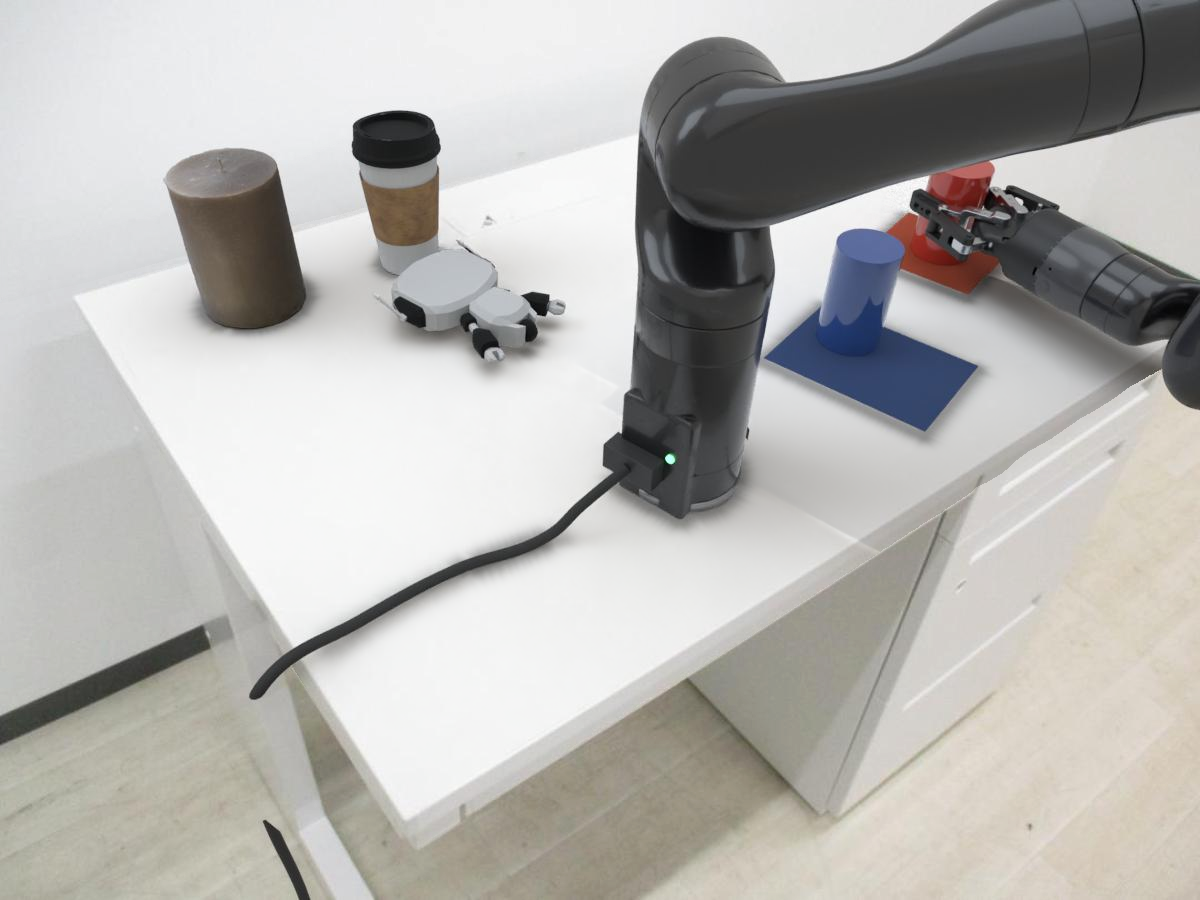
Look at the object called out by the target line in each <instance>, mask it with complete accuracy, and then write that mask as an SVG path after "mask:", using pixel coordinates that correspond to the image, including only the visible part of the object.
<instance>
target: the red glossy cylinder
mask: <svg viewBox="0 0 1200 900" xmlns="http://www.w3.org/2000/svg"><path fill="white" fill-rule="evenodd" d="M995 173H996V167H995V165H994V164H993V163H992V162H991V161H987V162H983V163H979V164H975V165H971V166H967V167H963V168H959V169H955V170H950V171H947V172H943V173H938V174H934V175H929V176H928V177H929V178H928V181H927V184H926V187H925V191H926V192H928V193H930V194H932V195H933V196H935V197H936V198H938V199H940V200H942V201H944V202H945V204H949V205H952V206H956V207H959V208H965V207H966V206H973V207H976V208H980V209H983V207H984V206H983V205H984V202H985V199H986V196H987V193H988V190H989V187H991V184H992V181H993V178H994V175H995ZM917 216H918V219H917V222H916V226H915V229H914V233H913V236H912V240H911V243H910V249H911V251H912V252H913V254H914V255H916V256H917V257H918V258H920V259H922V260H924V261H926V262H929V263H933V264H938V265H955V264H958V263H961V262H962V261H959V260H957V259H956V258H955V257H953V256H952V255H951V254H949V253H948V252H947V251H945V250H944V249H943V248H941V247H940V246H939V245H937V244H936V243H935V242H934V241H932V240H931V239H930V238H928V237H927V236H926V235H925V231H926V229H927V225H928V222H929V220H928V219H926V218H924V217H923V216H921V215H920V214H917ZM948 217H949V218H951V219H952V220H953V221H955V222H956V223H958V222H959V219H958V218H957V217H955V216H951V215H949V216H948ZM974 219H975V218H973V217H970V218H969V220H968V224H967V227H966V229H970V230H971V227H972V224H973V221H974ZM939 232H941V231H939ZM941 233H942V232H941Z"/></svg>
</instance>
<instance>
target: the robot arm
mask: <svg viewBox="0 0 1200 900" xmlns="http://www.w3.org/2000/svg"><path fill="white" fill-rule="evenodd" d="M779 71H780V70H778V69H777V67H776V66H775V64H774V63H773V62H772V61H771V60H770V59H769V57H768V56H767V55H766V54H765V53H764V52H763V51H761V50H760V49H759V48H757V47H756V46H754V45H753V44H750V43H748V42H747V41H744V40H742V39H739V38H735V37H731V36H730V37H729V36H710V37H705V38H701V39H697V40H694V41H692V42H689V43H688V44H686V45H683V46H682V47H681V48H679V49H677V50H676V51H675V52H673V54H671V55H670V56H669V57H668V58H667V59H666V60H665V61H664V62H663V63H662V65H660V67H659V68H658V70H657V71H656V72H655V74H654V75H653V77H652V79H651V80H650V83H649V84H648V87H647V90H646V92H645V95H644V98H643V101H642V102H643V103H642V105H641V110H640V118H639V125H638V140H637V157H636V159H637V161H636V181H635V182H636V186H635V210H634V211H635V212H634V239H635V249H636V259H637V282H636V283H637V285H636V300H635V315H634V316H635V317H634V325H633V327H634V328H633V341H632V357H631V372H630V385H629V386H630V387H629V389H628V391H626V392H625V393H624V395H623V405H622V421H621V422H622V423H621V432H619V431H617V432H616V433H615V434H614V435H612V436H611V437H610V438H609V439H607V440H606V441H605V442H604V443H603V447H602V448H603V449H602V467H604V468H606V469H607V470H609V471H610V472H612V473H610V474H609V475H608V476H606V477H605V478H604V479H603V480H602V481H600V482H599V483H597V485H596V486H594V487H593V488H592V489H590V490H589V491H588V492H587V493H586V494H584V496H582V497H581V498H580V499H578V500H577V501H576V503H574V504H573V505H572V506H571V507H570V508H569V509H567V511H566V512H565V513H564V514H563V516H561V517H560V518H559V520H557V522H556V523H554V524H553V525H552V526H550V527H549V528H548V529H546V530H544V531H543V532H541V533H539V534H538V535H535V536H533V537H532V538H529V539H526V540H524V541H521V542H519V543H516V544H513V545H510V546H507V547H503V548H500V549H497V550H492V551H489V552H485V553H482V554H479V555H475V556H473V557H469V558H467V559H463V560H461V561H459V562H456V563H454V564H452V565H450V566H447V567H444V568H443V569H440V570H439V571H436V572H434V573H431V574H430V575H427V576H426V577H424V578H421V579H420V580H418V581H416V582H413V583H412V584H410V585H409V586H406V587H405V588H403V589H400V590H399V591H398V592H396V593H394V594H392V595H390V596H388V597H387V598H384V599H383V600H381V601H380V602H378V603H376V604H375V605H373V606H371V607H369V608H367V609H366V610H364V611H362V612H361V613H359V614H357V615H356V616H354V617H352V618H349V619H347V620H346V621H344V622H342V623H339V624H338V625H336V626H334V627H332V628H330V629H328V630H326V631H323V632H321V633H320V634H317V635H315V636H313V637H311V638H309V639H307V640H305V641H303V642H302V643H300V644H298V645H297V646H295V647H292V649H290V650H289V651H287V652H285V653H284V654H283V655H282V656H280V657H279V658H278V659H277V660H276V661H274V662H273V663H272V664H271V665H270V666H269V667H268V668H267V669H266V670H265V671H264V673H262V674H261V676H260V677H259V678H258V680H257V681H256V682H255V684H254V685H253V686H252V688H251V690H250V691H249V695H248V698H249V699H250V700H251V701H257V700H259V699H261V698H263V697H264V695H265V694H266V693H267V691H268V690H269V689H270V687H271V686H272V685H273V684H274V682H275V681H276V680H277V679H278V678H279V677H280V676H281V675H282V674H283V673H284V672H285V671H287V670H288V669H289V668H290V667H291V666H293V665H294V664H296V663H297V662H298V661H300V660H302V659H303V658H305V657H306V656H308V655H310V654H312V653H314V652H316V651H317V650H319V649H321V648H324V647H326V646H327V645H330V644H332V643H334V642H336V641H338V640H340V639H342V638H344V637H347V636H348V635H350V634H352V633H354V632H356V631H358V630H359V629H361V628H362V627H364V626H366V625H368V624H370V623H371V622H373V621H375V620H376V619H378V618H380V617H381V616H383V615H386V613H389V612H390V611H392V610H393V609H396V608H398V607H399V606H401V605H402V604H404V603H406V602H408V601H410V600H411V599H413V598H415V597H418V595H419V596H420V595H421V594H423V593H424V592H426V591H428V590H430V589H432V588H435V587H436V586H438V585H441V584H443V583H445V582H447V581H450V580H452V579H453V578H455V577H457V576H460V575H463V574H465V573H467V572H470V571H473V570H476V569H479V568H481V567H485V566H488V565H491V564H495V563H500V562H502V561H506V560H510V559H513V558H516V557H519V556H522V555H524V554H527V553H530V552H533V551H535V550H537V549H538V548H541V547H543V546H544V545H546V544H548V543H550V542H551V541H553V540H555V539H556V538H558V537H559V536H560V535H561V534H563V533H564V532H565V531H566V530H567V529H568V528H569V527H570V526H571V525H572V524H573V523H574V521H576V520H577V518H578V517H579V516H581V515H582V513H583V512H585V511H586V510H587V509H588V508H589V507H590V506H592V505H593V504H594V503H595V502H596V501H598V500H599V499H600V498H601V497H603V496H604V495H605V494H606V493H608V492H609V491H610V490H611V489H613V488H614V487H615V486H616V485H617V484H618V485H619V486H620V487H622V488H624V489H625V490H627V491H629V492H631V493H632V494H634V495H636V496H637V497H639V498H641V499H642V500H644V501H645V502H647V503H648V504H651V505H653V506H655V507H657V508H658V509H660V510H662V511H664V512H666V513H667V514H669V515H671V516H672V517H674V518H676V519H679V520H682V519H684V518H685V517H686V516H687V515H688V514H690V513H694V512H695V513H696V512H703V511H706V510H710V509H713V508H716V507H717V506H720V505H721V504H723V503H725V502H726V501H727V500H729V499H730V498H731V497H732V496H733V494H735V492H736V490H737V489H738V486H739V483H740V479H741V473H742V466H741V465H742V460H743V454H744V449H745V443H746V441H748V440H749V435H750V428H749V422H750V416H751V410H752V405H753V399H754V394H755V389H756V383H757V379H758V373H759V367H760V361H761V355H762V349H763V344H764V339H765V334H766V329H767V324H768V318H769V312H770V306H771V301H772V296H773V291H774V284H775V278H776V263H775V255H774V249H773V243H772V235H771V226H774V225H777V224H781V223H784V222H787V221H791V220H793V219H796V218H799V217H802V216H804V215H805V216H806V215H808V214H810V213H813V212H817V211H819V210H823V209H825V208H828V207H831V206H834V205H837V204H839V203H843V202H846V201H848V200H851V199H854V198H856V197H860V196H863V195H866V194H869V193H872V192H875V191H879V190H882V189H885V188H887V187H892V186H895V185H898V184H901V183H905V182H909V181H912V180H917V179H920V178H926V177H930V175H934V174H938V173H943V172H947V171H950V170H955V169H959V168H963V167H967V166H971V165H975V164H979V163H983V162H987V161H990V162H991V161H994V160H999V159H1003V158H1007V157H1011V156H1016V155H1021V154H1026V153H1032V152H1037V151H1042V150H1049V149H1053V148H1058V147H1062V146H1067V145H1070V144H1076V143H1079V142H1084V141H1088V140H1093V139H1097V138H1101V137H1105V136H1111V135H1114V134H1117V133H1121V132H1125V131H1128V130H1132V129H1136V128H1139V127H1143V126H1148V125H1151V124H1156V123H1159V122H1164V121H1165V122H1166V121H1169V120H1173V119H1179V118H1183V117H1189V116H1193V115H1199V114H1200V0H996V1H994V2H992V3H991V4H988V5H986V6H985V7H984V8H982V9H980V10H979V11H977V12H975V13H974V14H972V15H971V16H969V17H968V18H966V19H965V20H963V21H962V22H961V23H959V24H958V25H956V26H955V27H954V28H952V29H950V30H948V32H946V33H945V34H943V35H942V36H940V37H939V38H937V39H936V40H935V41H933V42H931V43H930V44H929V45H927V46H926V47H923V49H920V50H918V51H916V52H915V53H913V54H910V55H909V56H907V57H905V58H902V59H899V60H896V61H894V62H891V63H888V64H885V65H881V66H878V67H874V68H869V69H865V70H861V71H859V70H858V71H855V72H851V73H845V74H840V75H836V76H830V77H825V78H824V77H823V78H816V79H810V80H801V81H791V82H790V81H786V80H785V78H784V77H783V76H782V74H781V73H780V72H779ZM1017 199H1019V200H1021V202H1022V205H1021V203H1020V202H1019V201H1018V200H1017ZM1060 208H1061V206H1060V205H1059V204H1057V203H1055V202H1052V201H1050V200H1048V199H1046V198H1044V197H1041V196H1040V195H1039V196H1038V195H1037V194H1034V193H1032V192H1029V191H1027V190H1026V189H1023V188H1021V187H1018V186H1015V185H1011V184H1009V185H1006V187H1005V189H1002V188H1001V187H999V186H990V187H989V190H988V193H987V196H986V199H985V202H984V205H983V208H982V209H980V208H976V207H973V206H966V207H965V208H959V207H956V206H952V205H949V204H945V202H944V201H942V200H940V199H938V198H936V197H935V196H933V195H932V194H930V193H928V192H926V189H923V188H917V189H914V190H912V193H911V197H910V201H909V209H910V210H911V211H912V212H914V213H916V215H919V214H920V215H921V216H923V217H924V218H926V219H928V220H929V222H928V225H927V229H926V231H925V235H926V236H927V237H928V238H930V239H931V240H932V241H934V242H935V243H936V244H937V245H939V246H940V247H941V248H943V249H944V250H945V251H947V252H948V253H949V254H951V255H952V256H953V257H955V258H956V259H957V260H959V261H967V260H968V257H969V254H970V253H972V252H976V251H980V252H982V253H984V254H987V255H990V256H993V257H996V258H998V260H999V264H1000V267H1001V271H1002V274H1003V275H1004V276H1005V277H1006V278H1007V279H1008V280H1010V281H1011V282H1014V283H1015V284H1017V285H1019V286H1020V287H1022V288H1023V289H1025V290H1026V291H1029V292H1030V293H1032V294H1033V295H1035V296H1037V297H1038V298H1040V299H1042V300H1043V301H1045V302H1047V303H1048V304H1050V305H1052V306H1053V307H1055V308H1057V309H1059V311H1062V312H1065V313H1067V314H1068V315H1071V316H1074V317H1076V318H1078V319H1080V320H1082V321H1084V322H1086V323H1087V324H1089V325H1091V326H1092V327H1094V328H1096V329H1097V330H1099V331H1101V332H1102V333H1104V334H1106V335H1107V336H1109V337H1110V338H1112V339H1114V340H1115V341H1118V342H1119V343H1121V344H1123V345H1125V346H1131V347H1141V346H1144V345H1145V346H1146V345H1149V344H1151V343H1155V342H1158V341H1167V344H1166V346H1165V348H1164V351H1163V355H1162V360H1161V375H1162V380H1163V382H1164V385H1165V387H1166V389H1167V390H1168V392H1169V393H1170V396H1172V397H1173V398H1174V399H1175V400H1176V401H1177V402H1178V403H1180V404H1181V405H1183V406H1184V407H1187V408H1190V409H1193V410H1195V411H1196V410H1197V411H1200V281H1199V280H1195V279H1191V278H1185V277H1181V276H1177V275H1173V274H1170V273H1168V272H1167V271H1165V270H1164V269H1162V268H1160V267H1158V266H1156V265H1155V264H1154V263H1151V262H1149V261H1147V260H1146V259H1143V258H1141V257H1140V256H1138V255H1136V254H1134V253H1132V252H1131V251H1129V250H1127V249H1126V248H1125V247H1123V246H1122V245H1120V244H1119V243H1118V242H1117V241H1115V240H1113V239H1112V238H1110V237H1108V236H1106V235H1104V233H1103V234H1102V233H1100V232H1098V231H1097V230H1094V229H1093V228H1091V227H1089V226H1087V225H1085V224H1084V223H1082V222H1080V221H1078V220H1076V219H1074V218H1072V217H1071V216H1068V215H1067V214H1064V213H1063V212H1061V211H1059V210H1060ZM949 215H951V216H955V217H957V218H958V219H959V222H958V223H956V222H955V221H953V220H952V219H951V218H949V217H948V216H949ZM970 217H973V218H975V219H974V221H973V224H972V227H971V230H970V229H966V227H967V224H968V220H969V218H970ZM939 231H941V232H942V233H941V232H939ZM262 823H263V826H264V829H265V831H266V833H267V835H268V837H269V839H270V841H271V844H272V845H273V848H274V850H275V852H276V854H277V856H278V858H279V859H280V861H281V863H282V865H283V867H284V869H285V871H286V873H287V876H288V877H289V880H290V882H291V884H292V886H293V888H294V891H295V893H296V895H297V899H298V900H311V896H310V894H309V891H308V888H307V886H306V884H305V881H304V879H303V877H302V876H303V875H302V874H301V872H300V869H299V867H298V865H297V863H296V861H295V859H294V857H293V855H292V853H291V851H290V849H289V847H288V845H287V843H286V840H285V838H284V837H283V834H282V832H281V830H279V829H278V828H276V827H275V826H274V825H273V824H272V823H271V822H269V821H268V820H267V819H263V820H262Z"/></svg>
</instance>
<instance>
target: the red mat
mask: <svg viewBox="0 0 1200 900" xmlns="http://www.w3.org/2000/svg"><path fill="white" fill-rule="evenodd" d="M917 219H918V214H914V213H911V212H907V213H906V214H905V215H904V216H903V217H902V218H900V219H899V220H898V221H897V222H895V224H894V225H893V226H891V227H890V228H889V229H888V230H886V232H885V233H888V234H890V235H892V236H894V237H895V238H897V239H898V240H899V241H900V242H901V243H902V244H903V245H904V248H905V254H904V258H903V261H902V265H901V268H900V270H902V271H905V272H908V273H910V274H912V275H916V276H918V277H920V278H924V279H927V280H929V281H932V282H934V283H936V284H939V285H942V286H944V287H947V288H950V289H952V290H956V291H957V292H960V293H963V294H965V295H969V294H970V293H971V292H972V291H973V289H974V288H976V286H977V285H978V284H979V283H980V281H981V280H982V279H983V278H984V277H985V276H986V275H987V276H988V275H989V274H990V273H991V272H992V271H993V270H994V269H995V268H996V267H997V266H998V265H999V264H1000V262H999V260H998V258H996V257H993V256H990V255H987V254H984V253H982V252H980V251H976V252H972V253H970V254H969V257H968V260H967V261H962V262H961V263H958V264H955V265H938V264H933V263H929V262H926V261H924V260H922V259H920V258H918V257H917V256H916V255H914V254H913V252H912V251H911V249H910V243H911V240H912V236H913V233H914V229H915V226H916V222H917Z"/></svg>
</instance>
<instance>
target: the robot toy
mask: <svg viewBox="0 0 1200 900" xmlns="http://www.w3.org/2000/svg"><path fill="white" fill-rule="evenodd" d="M455 240H456V243H457V245H459V246H460V248H451V249H450V248H449V249H448V248H447V249H444V250H441V251H438V252H437V253H434V254H431V255H429V256H427V257H425V258H423V259H420V260H418V261H416V262H415V263H413V264H412V265H410V266H409V267H408V268H407V269H406V270H405V271H403V272H402V273H401V274H400V275H397V277H396V278H395V280H394V281H393V282H392V285H391V291H390V292H391V302H392V303H391V304H392V305H391V304H390V303H388V302H387V301H385V300H384V299H383V297H381V295H380V294H378V293H377V292H371V294H372V297H373V298H374V299H375V300H376V301H379V302H380V303H381V304H382V305H384V306H385V307H386V308H387V309H388V310H390V311H391V312H392V313H393V314H394V315H395V316H397V317H398V319H399V320H400V322H402V323H408V324H410V325H412V326H414V327H415V328H417V329H422V330H424V331H427V332H442V331H443V332H445V331H448V330H450V329H454V328H456V327H458V326H461V328H462V329H463V330H464V332H465V333H471V343H472V345H473V346H472V347H473V349H474V350H475V351H476V352H477V354H478V355H479V356H480V358H481V359H483V360H485V361H486V362H487V363H489V364H490V365H495V364H497V363H498V362H499V363H501V362H503V361H504V360H505V358H506V355H505V353H504V350H503V349H502V348H501V347H505V346H506V347H510V348H514V349H518V348H522V347H525V346H526V343H530V342H534V340H536V339H537V337H538V334H539V330H538V329H539V328H538V327H537V322H538V321H537V320H538V316H539V317H544V318H545V317H546V318H547V315H548V313H550V314H552V315H553V316H561V315H563V314H565V310H566V308H567V307H566V306H567V304H566V302H565V301H564V300H561V299H559V298H558V299H552V300H550V297H551V296H550V294H549V293H543V292H538V291H529V292H526V293H523V294H521V295H519V294H517V293H515V292H512V291H511V290H509V289H505V288H500V287H498V285H499V283H498V282H499V281H498V280H499V275H498V274H499V272H498V270H497V269H496V266H495V264H493V262H492V261H490V260H488V259H487V258H486V257H482V256H481V255H479V254H478V253H477V252H476V251H475V250H473V249H471V248H470V247H469V246H468V245H467V244H465V243H464V241H463V240H461V239H455ZM461 247H462V248H461ZM497 361H498V362H497Z"/></svg>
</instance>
